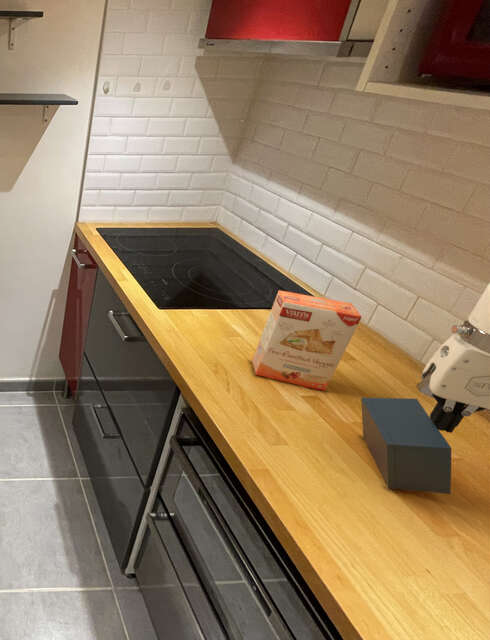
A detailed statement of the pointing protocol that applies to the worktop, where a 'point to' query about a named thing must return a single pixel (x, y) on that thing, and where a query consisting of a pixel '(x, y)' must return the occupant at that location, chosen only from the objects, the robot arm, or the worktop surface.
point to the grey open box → (406, 445)
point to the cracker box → (304, 339)
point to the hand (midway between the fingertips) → (440, 425)
